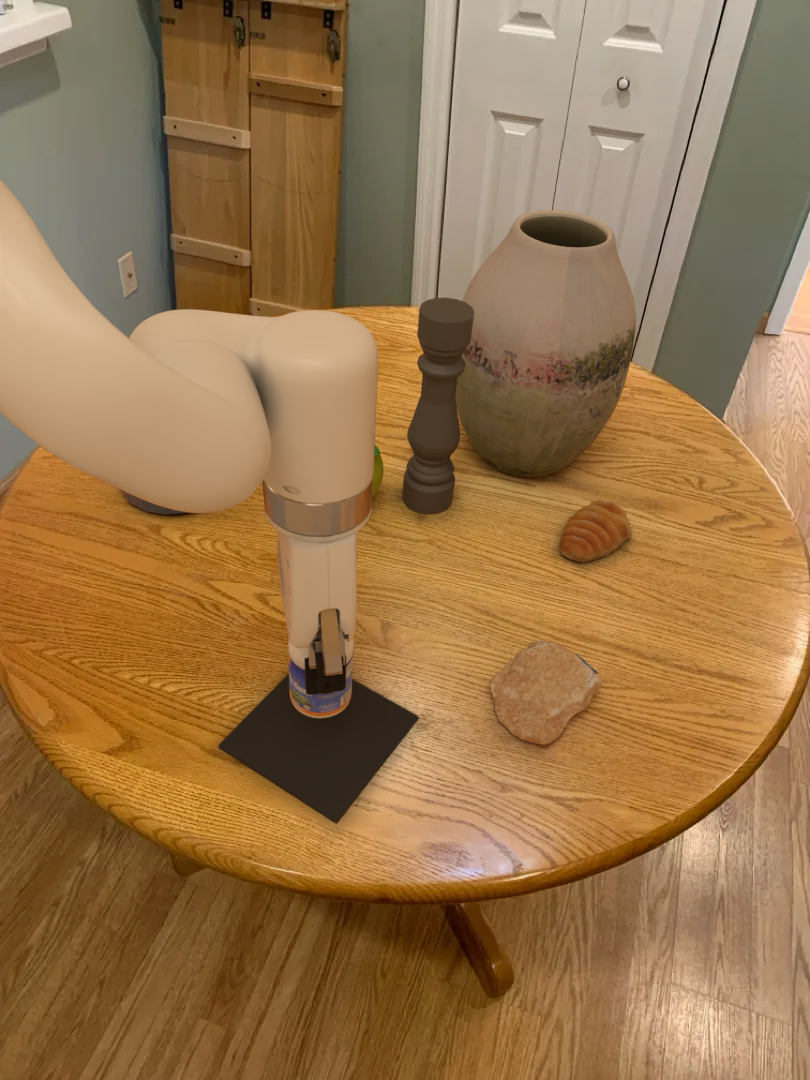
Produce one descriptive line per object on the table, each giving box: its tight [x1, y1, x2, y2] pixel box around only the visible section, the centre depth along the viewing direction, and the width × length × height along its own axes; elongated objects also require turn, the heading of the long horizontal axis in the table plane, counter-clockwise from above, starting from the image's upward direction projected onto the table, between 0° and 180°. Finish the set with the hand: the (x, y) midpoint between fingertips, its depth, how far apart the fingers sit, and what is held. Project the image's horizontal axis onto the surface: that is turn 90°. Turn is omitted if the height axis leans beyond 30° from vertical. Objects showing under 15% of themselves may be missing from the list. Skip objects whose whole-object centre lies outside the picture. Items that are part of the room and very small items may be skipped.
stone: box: [489, 639, 603, 746], centre depth 80 cm, size 8×10×4 cm
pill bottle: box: [287, 625, 355, 718], centre depth 70 cm, size 5×5×10 cm
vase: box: [455, 209, 637, 479], centre depth 102 cm, size 21×21×30 cm
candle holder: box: [401, 297, 474, 515], centre depth 95 cm, size 6×6×25 cm
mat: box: [218, 673, 419, 825], centre depth 77 cm, size 13×13×1 cm
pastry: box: [559, 499, 633, 563], centre depth 98 cm, size 9×7×4 cm
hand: (320, 659), depth 70 cm, fingers closed on pill bottle, 5 cm apart
